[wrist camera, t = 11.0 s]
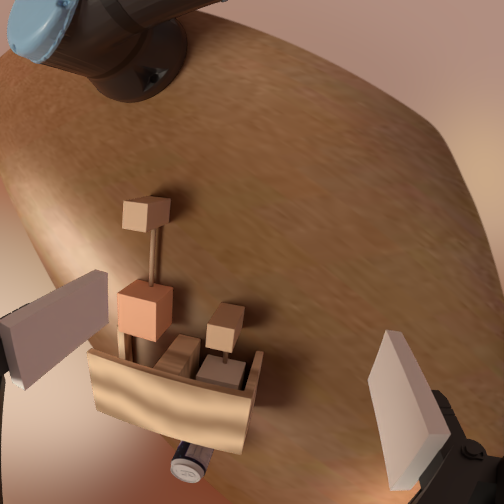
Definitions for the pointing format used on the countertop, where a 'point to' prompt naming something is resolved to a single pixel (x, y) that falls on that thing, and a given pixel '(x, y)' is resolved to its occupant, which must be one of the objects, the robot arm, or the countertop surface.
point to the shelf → (173, 395)
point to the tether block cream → (223, 348)
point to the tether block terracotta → (148, 293)
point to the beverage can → (190, 461)
